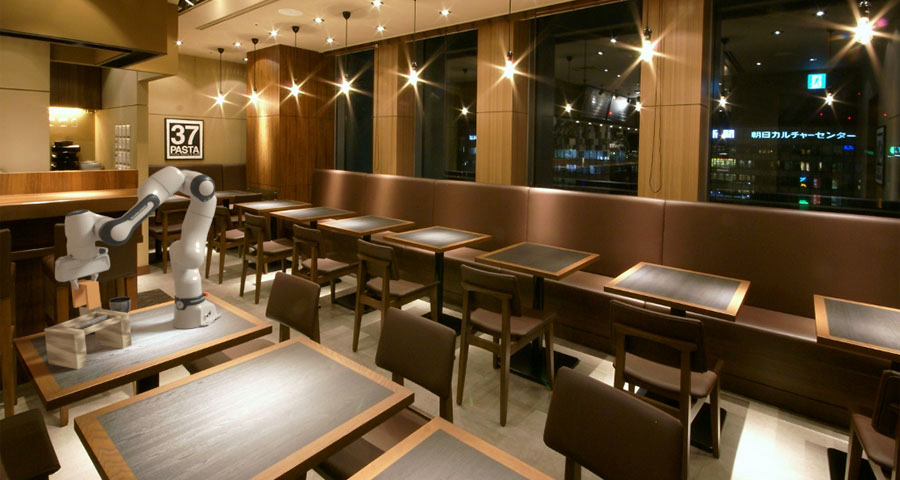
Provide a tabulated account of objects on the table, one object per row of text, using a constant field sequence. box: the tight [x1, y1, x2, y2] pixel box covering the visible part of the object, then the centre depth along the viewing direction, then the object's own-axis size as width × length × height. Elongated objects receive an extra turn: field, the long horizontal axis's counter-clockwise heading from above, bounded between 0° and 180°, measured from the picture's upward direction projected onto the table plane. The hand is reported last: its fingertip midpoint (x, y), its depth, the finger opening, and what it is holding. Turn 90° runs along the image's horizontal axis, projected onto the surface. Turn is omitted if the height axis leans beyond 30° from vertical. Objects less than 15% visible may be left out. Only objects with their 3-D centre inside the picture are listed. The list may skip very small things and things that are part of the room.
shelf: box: [44, 308, 133, 370], centre depth 202 cm, size 24×14×14 cm, turn 166°
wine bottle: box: [78, 275, 103, 336], centre depth 222 cm, size 8×8×30 cm
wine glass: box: [108, 296, 133, 332], centre depth 224 cm, size 8×8×15 cm
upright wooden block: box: [70, 279, 102, 310], centre depth 198 cm, size 5×8×10 cm, turn 76°
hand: (85, 286), depth 197 cm, fingers closed on upright wooden block, 5 cm apart
